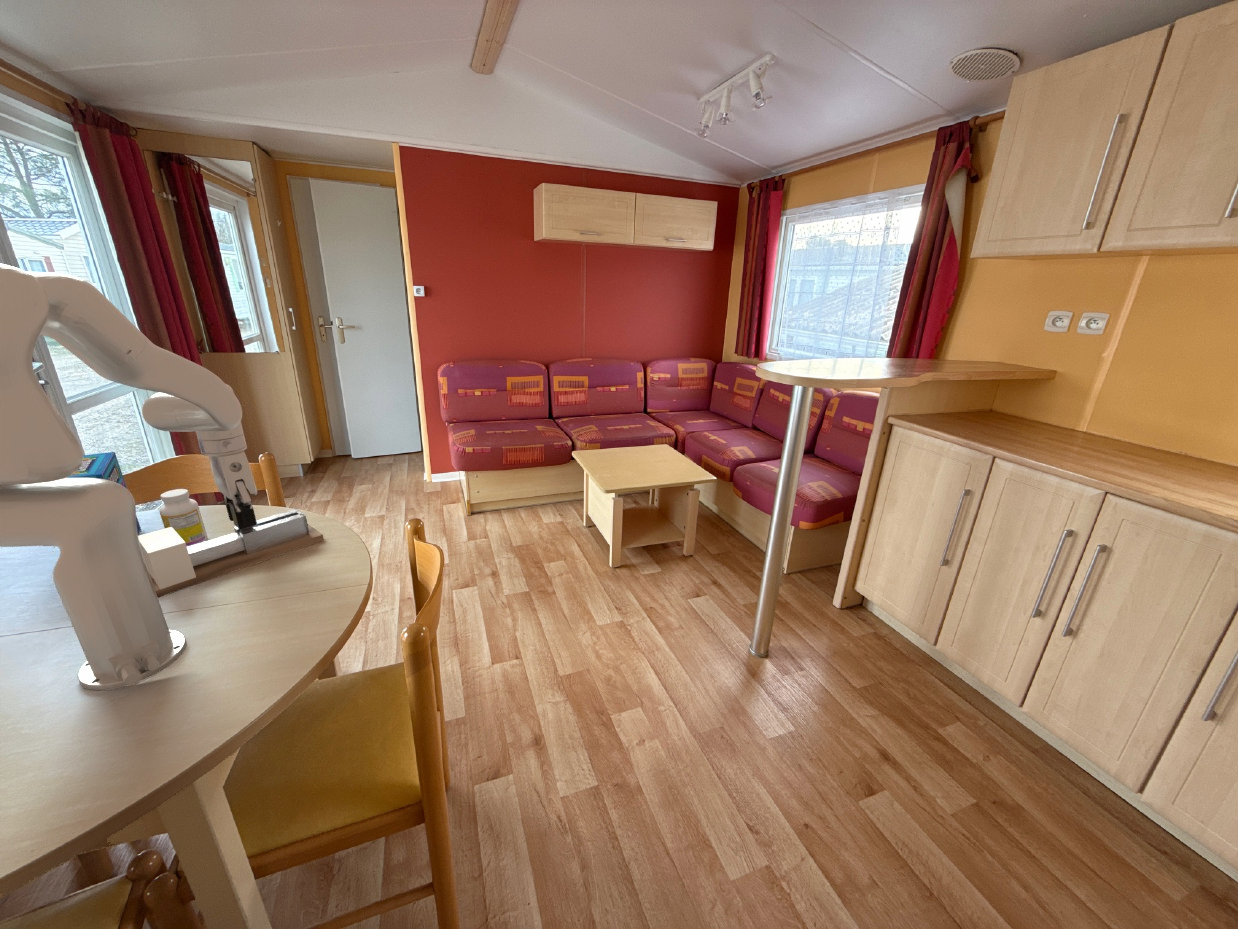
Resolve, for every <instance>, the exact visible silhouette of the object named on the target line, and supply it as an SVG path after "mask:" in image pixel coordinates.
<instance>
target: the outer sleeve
mask: <svg viewBox="0 0 1238 929" xmlns="http://www.w3.org/2000/svg"><path fill="white" fill-rule="evenodd" d="M256 521H257V524H256V525H254V526H252V528H251V529H248V530H244V531H241V532H240V529H239V528H238V527H236V526H235V525H234V526H233V530H234V533H236V532H237V533H238V532H239V533H240V535H241V536H242V538H243V542H244V546H245V550H243V551H244V552H245V553H246V554H247V555H250V554H253V553H256V552H259V551H262V550H265V549H268V548H271V547H274V546H277V545H280V544H283V543H286V542H289V541H292V540H295V539H298V538H301V537H304V536H307V535H310V533H309V529H308V524H309V523H308V519H307V516H306V515H305V514H304V513H303V512H301V511H300V510H298V509H297V508H293V509H291V510H288V511H284V512H280V513H277V514H273V515H270V516H267V517H264V518H260V519H256Z"/></svg>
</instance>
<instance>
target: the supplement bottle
mask: <svg viewBox="0 0 1238 929" xmlns="http://www.w3.org/2000/svg"><path fill="white" fill-rule="evenodd" d="M160 499H161V501H162V502H163V504H162V505H161V506H160V507H159V510H158V512H159V515H160V519H161V521H162V524H163V527H164V528H163V529H165V528H169V527H172V528H173V529H174V530H175V531H176V532H177V533H178V535H179V536H180V537H181V538H182V539H183V540H184V541H185V543H186V546H187V547H189V546H192V545H195V544H199V543H202V542H205V541H208V535H207V530H206V527H205V523H204V520H203V517H202V513H201V510H200V507H199V503H198V502H197V501H196V500H195V499H193V498H190V492H189V490H188V489H185V488H176V489H172V490H167V491H165V492H163V493H161V494H160Z"/></svg>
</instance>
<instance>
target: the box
mask: <svg viewBox="0 0 1238 929" xmlns="http://www.w3.org/2000/svg"><path fill="white" fill-rule="evenodd" d="M66 478H98V479H105V480H109V481H113V482H116V483H118V484H120V485H122V486H124V487H125V488H126V489H127V490H128V491H129V489H128V487H127V484H126V481H125V477H124V475H123V472H122V468H121V466H120V463H119V460H118V458H117V454H116V451H109V452H99V453H94V454H93V453H92V454H91V453H90V454H85V455H84V454H83V463H82V465H81V467H80V468H79V469H78V471H77V472H75V473H74V474H72V475H70V476H68V477H66ZM136 524H137V533H138V536H139V535H141V531H142V529H141V525H140V522H139V519H138V516H137V515H136Z"/></svg>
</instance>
